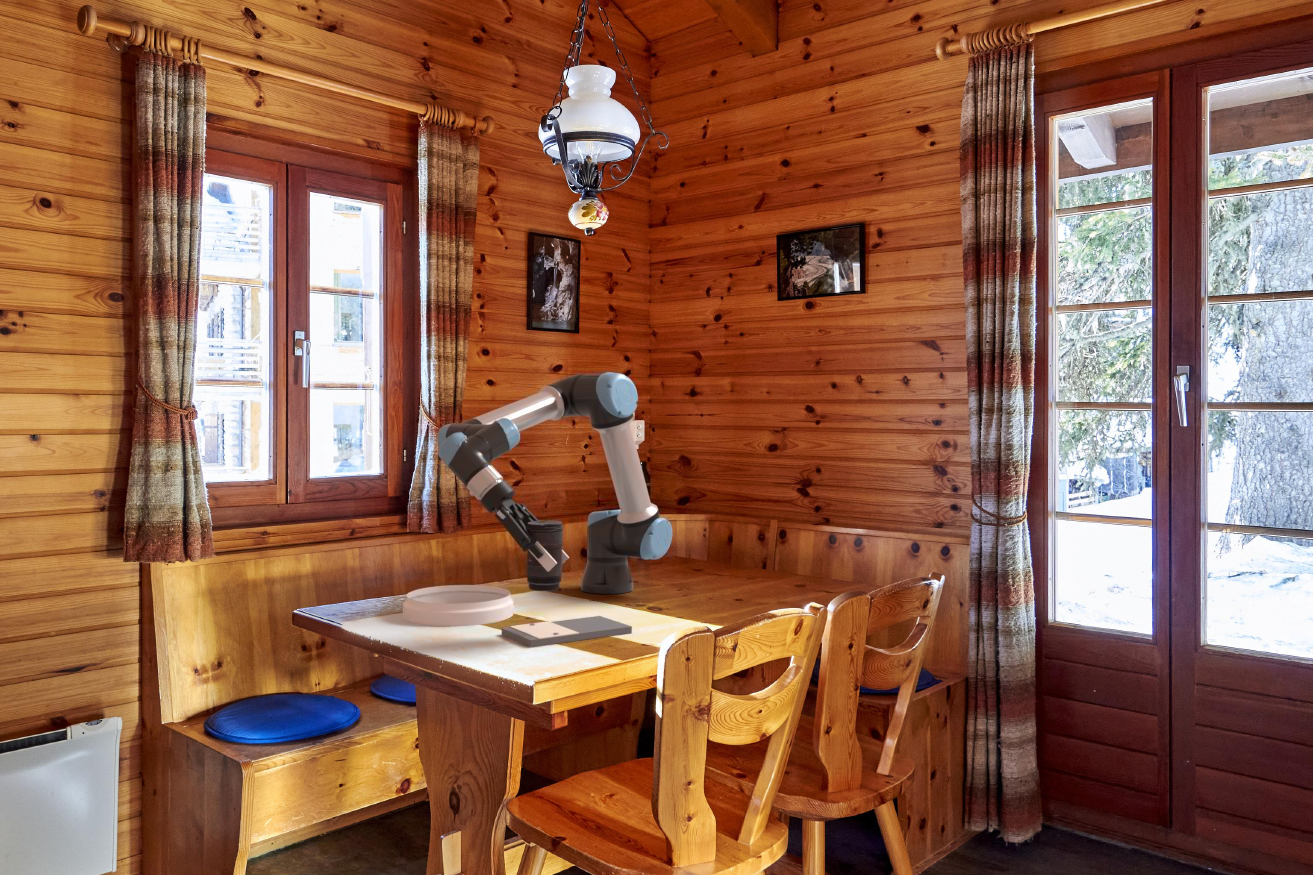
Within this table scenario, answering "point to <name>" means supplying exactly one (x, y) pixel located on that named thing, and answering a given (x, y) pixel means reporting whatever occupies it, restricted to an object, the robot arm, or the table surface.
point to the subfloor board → (565, 631)
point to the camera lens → (552, 542)
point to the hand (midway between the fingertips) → (558, 564)
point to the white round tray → (458, 605)
